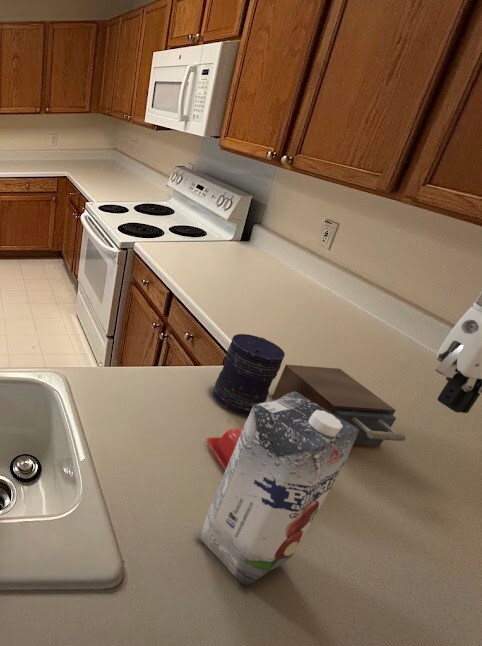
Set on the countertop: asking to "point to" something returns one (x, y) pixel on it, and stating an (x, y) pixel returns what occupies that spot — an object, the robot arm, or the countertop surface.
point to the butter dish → (224, 445)
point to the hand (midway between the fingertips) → (451, 406)
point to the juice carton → (275, 484)
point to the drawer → (370, 426)
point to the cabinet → (329, 389)
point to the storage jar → (247, 373)
